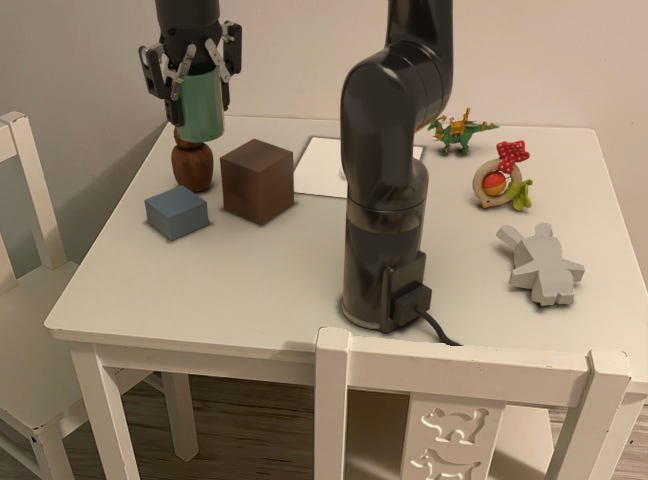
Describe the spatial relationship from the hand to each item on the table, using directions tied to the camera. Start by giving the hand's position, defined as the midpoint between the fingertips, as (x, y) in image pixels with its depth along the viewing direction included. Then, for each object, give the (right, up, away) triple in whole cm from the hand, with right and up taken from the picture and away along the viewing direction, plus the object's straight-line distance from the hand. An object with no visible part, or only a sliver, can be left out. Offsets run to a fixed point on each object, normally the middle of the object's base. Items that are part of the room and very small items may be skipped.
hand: (199, 117), depth 96 cm
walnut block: (+8, -7, +22) cm, 24 cm away
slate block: (-5, -10, +19) cm, 22 cm away
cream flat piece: (+24, +1, +30) cm, 38 cm away
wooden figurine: (-3, -3, +27) cm, 28 cm away
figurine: (+43, +4, +32) cm, 53 cm away
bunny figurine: (+45, -21, +4) cm, 50 cm away
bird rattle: (+45, -8, +18) cm, 49 cm away
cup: (0, -2, +1) cm, 2 cm away
